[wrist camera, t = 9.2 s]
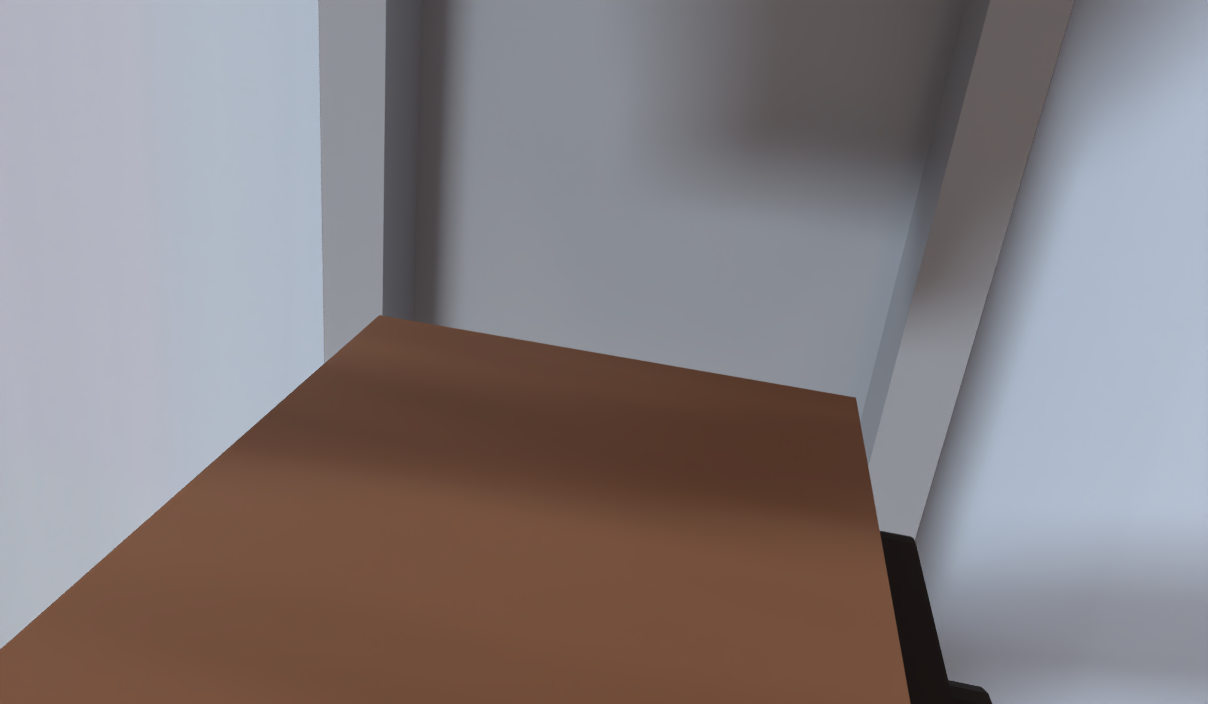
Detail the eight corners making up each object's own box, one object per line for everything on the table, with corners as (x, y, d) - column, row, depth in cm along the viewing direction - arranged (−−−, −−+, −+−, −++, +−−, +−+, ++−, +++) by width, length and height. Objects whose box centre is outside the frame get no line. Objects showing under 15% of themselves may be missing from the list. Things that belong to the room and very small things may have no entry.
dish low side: (388, -300, 14) (313, -351, 11) (1086, -234, 13) (1156, -276, 10) (377, 645, 21) (330, 729, 19) (820, 737, 20) (826, 836, 18)
